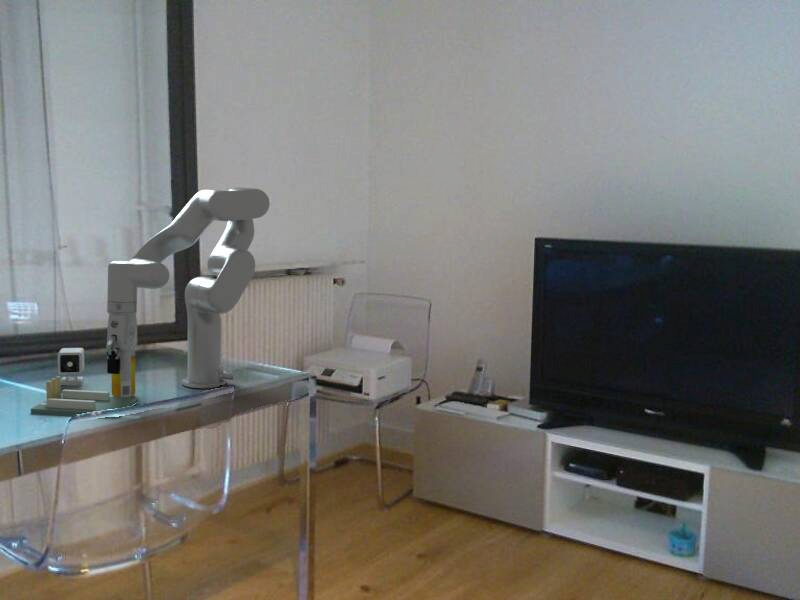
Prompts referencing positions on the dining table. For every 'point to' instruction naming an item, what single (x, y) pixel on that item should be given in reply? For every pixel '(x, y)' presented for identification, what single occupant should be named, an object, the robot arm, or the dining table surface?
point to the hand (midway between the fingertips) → (120, 369)
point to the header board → (77, 401)
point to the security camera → (71, 365)
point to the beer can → (125, 375)
